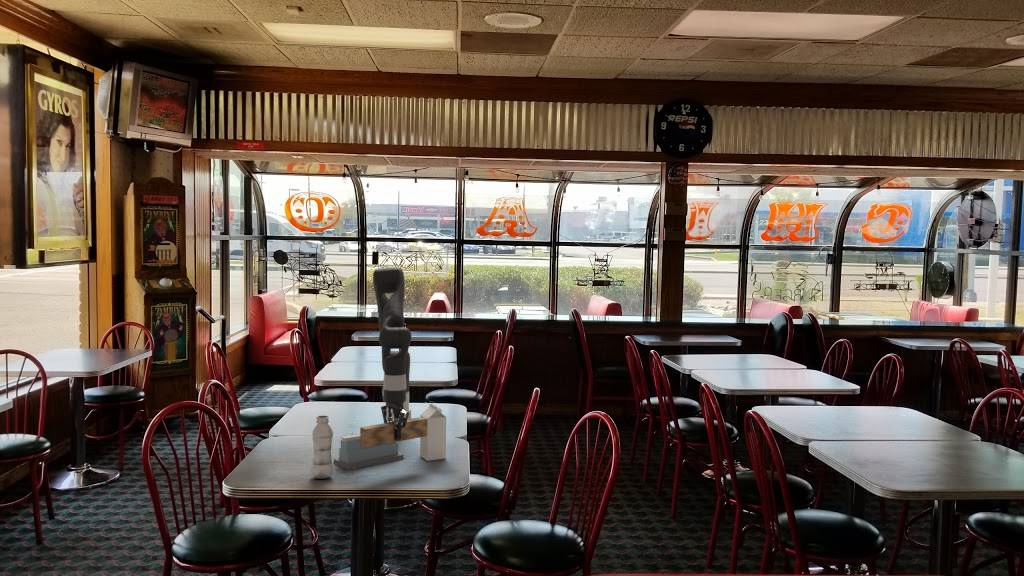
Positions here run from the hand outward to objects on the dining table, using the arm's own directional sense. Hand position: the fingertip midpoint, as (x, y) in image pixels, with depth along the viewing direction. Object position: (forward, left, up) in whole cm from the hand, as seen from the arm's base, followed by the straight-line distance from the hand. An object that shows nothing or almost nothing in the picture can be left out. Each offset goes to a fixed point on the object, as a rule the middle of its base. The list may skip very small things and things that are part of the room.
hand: (394, 438), depth 260 cm
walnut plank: (0, 0, -1) cm, 1 cm away
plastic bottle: (+22, -8, -11) cm, 26 cm away
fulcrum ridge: (0, -16, -11) cm, 19 cm away
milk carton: (-20, -6, -11) cm, 24 cm away
